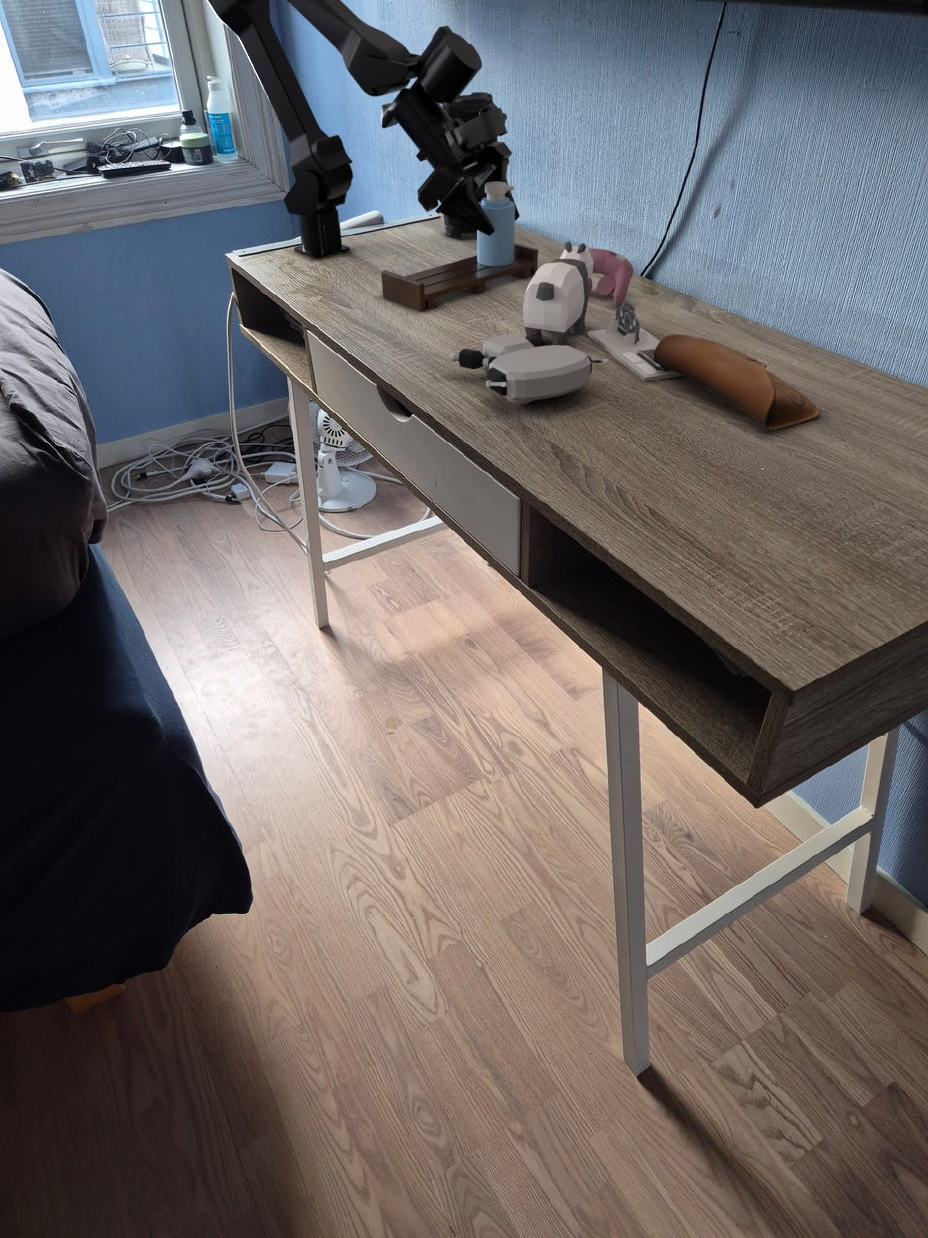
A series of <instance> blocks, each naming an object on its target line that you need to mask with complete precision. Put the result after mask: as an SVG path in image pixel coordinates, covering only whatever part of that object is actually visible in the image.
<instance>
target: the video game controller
mask: <svg viewBox="0 0 928 1238" xmlns="http://www.w3.org/2000/svg"><path fill="white" fill-rule="evenodd" d="M587 249H588V250H589V252H590V255H591V257H592V259H593V273H592V274H601V275H604V276H603V277H601V278H600V279H599V280H598V282H597V284H596V291H597V294H599V295H600V296H601V297H603V298H609V297H612V296H613V302H614V305H615V306H617V307H618V306H621V305H622V304H623V302H624V301H625V299H626V297H627V294H628V291H629V288H630V283H631V279H632V277H633V275H634V266H633V264H632V263H631V262H630V261H629V260H628V259H627V258H626V257H624V255H623V254H621V253H617V252H615V251H613V250H609V249H603V248H593V247H592V248H591V247H590V248H587ZM588 285H589V293H590V292H591V291H592V289H593V280H592V277H590V278H589V279H588Z"/></svg>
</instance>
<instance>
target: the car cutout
mask: <svg viewBox="0 0 928 1238" xmlns="http://www.w3.org/2000/svg"><path fill="white" fill-rule="evenodd" d="M587 336H588V337H589V338H591V340H592V341H594V342H596V343H597V344H598V345H599V346H600V347H601V348H603V349H604V350H605V351H606V352H607V353H609V354H610V355H611V356H613V358H615V360H617V361H619V363H621V364H622V365H623V366H625V368H627V369H628V370H629V371H631V372H632V373H633V374H634V375H635V376H637V377H638V378H639V379H640V380H642V381H643V382H645V383H646V382H652V381H658V380H665V379H670V378H671V379H672V378H677V377H683V376H682V375H681V374H680V373H677V372H674V371H672V370H671V369H668V368H666V367H664V366H662V365H658V364H656V363H655V362H654V360H653V355H654V351H655V349H656V347H657V345H658V344H659V342H660V341H661V340H659V338H657V337H655V336H654V335H652V334H651V333H650V332H648V330H646V329H644V328H643V327H642V326H641V323H640V320H639V318H637V314H636V308H635V306H634V305H633V304H631V303H630V302H629V301H627V300H624V301H623V302H622V303H621V305H619V306H617V308H616V309H615V318H614V320H609V321H608V322H607V323H606V325H605V328H601V329H595V330H588V331H587Z"/></svg>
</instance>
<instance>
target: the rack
mask: <svg viewBox="0 0 928 1238" xmlns="http://www.w3.org/2000/svg"><path fill="white" fill-rule="evenodd" d="M538 264H539V248H535V247H532V246H529V245H525V244H521V243H517V242H514V262H513V263H511V264H509V265H504V266H486V265H482V264H480V263H478V261H477V254H476V255H474V256H470V257H466V258H463V259H460V260H455V261H453V262H449V263H445V264H443V265H439V266H436V267H433V268H428V269H425V270H422V271H418V272H414V273H411V274H408V275H401V274H398V273H395V272H392V271H389V270H386V269H385V270H381V271H380V274H381V275H380V276H381V286H382V287H381V288H382V299H385V300H389V301H391V302H394V303H396V304H398V305H402V306H405V307H408V308H410V309H412V310H415V311H417V312H425V311H426V309H427V310H431V309H434V308H437V298H439V297H443V296H446V295H450V294H453V293H455V292H459V291H462V290H467V291H470V292H473V293H476V294H481V293H484V292H486V289H487V285H486V283H487V282H490V281H493V280H497V279H500V278H503V277H507V276H510V275H512V276H515V277H518V278H522V279H527V278H530V277H532V276H534V275H535V273H536V271H537V270H538V269H539V268H538V266H539V265H538Z"/></svg>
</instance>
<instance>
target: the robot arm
mask: <svg viewBox="0 0 928 1238" xmlns="http://www.w3.org/2000/svg"><path fill="white" fill-rule="evenodd" d="M206 1H207V3H208V5H209V6H210V7H211V9H212V11H213V12H214V14H215V15H216V17H217V19H218V20H219V21H221V22H222V24H224V25H225V26H226V27H227V28H228V29H229V30H230V31H231V32H232V33H233V34H235V35H236V37H237V38H238V40H239V41H240V43H241V45H242V47H243V49H244V51H245V54H246V55H247V58H248V60H249V62H250V64H251V66H252V68H253V70H254V73H255V74H256V76H257V78H258V80H259V81H258V82H259V83H260V85H261V87H262V89H263V91H264V93H265V95H266V97H267V100H268V101H269V103H270V106H271V108H272V109H273V111H274V114H275V116H276V118H277V121H278V122H279V125H280V126H281V129H282V130H283V132H284V135H285V137H286V139H287V142H288V144H289V157H290V158H289V159H290V160H289V161H290V169H291V173H292V175H293V178H294V181H295V182H294V183H293V185H292V186H291V187H290V189H289V190H288V192H287V193H286V195H285V196H284V197H283V203H284V205H285V208H286V210H287V212H288V214H290V215H297V219H298V225H299V233H300V241H301V245H299V246H295V247H293V251H294V252H296V253H299V254H301V255H304V256H307V257H310V258H313V259H316V260H318V259H322V258H327V257H330V256H334V255H338V254H339V255H340V254H342V253H346V252H349V251H351V247H350V246H348V245H346V244H345V245H344V244H343V241H342V232H341V223H340V219H339V218H340V217H339V210H338V209H337V207H339V206H341V205H345V204H346V200H347V194H348V192H349V190H350V188H351V187H352V183H353V179H354V173H353V169H352V165H351V164H352V163H353V160H352V159H351V158H350V156H349V155H348V153H347V152H346V149H345V146H344V142H343V140H342V138H341V137H340V135H339V134H334V135H331V136H328V134H327V133H326V132H324V131H323V130H322V128H321V127H320V125H319V123H318V120H317V119H316V117H315V115H314V113H313V111H312V108H311V106H310V104H309V102H308V100H307V97H306V95H305V93H304V91H303V89H302V86H301V84H300V82H299V80H298V78H297V75H296V73H295V71H294V70H293V67H292V65H291V63H290V61H289V58H288V57H287V54H286V52H285V50H284V48H283V45H282V44H281V41H280V39H279V37H278V35H277V33H276V31H275V29H274V27H273V24H272V22H271V9H270V7H271V5H270V4H271V3H270V0H206ZM286 2H288V4H289V5H291V6H292V7H293V8H294V9H295V10H296V11H297V12H298V13H299V14H300V15H301V16H302V17H303V18H304V19H305V20H306V21H307V22H308V23H309V24H310V25H311V26H312V27H313V28H315V30H317V31H318V32H319V33H320V34H321V36H322V37H324V39H326V40H327V41H328V42H329V43H330V44H331V45H332V46H333V47H334V48H335V49H336V50H337V52H338V53H339V54H340V55H341V57H342V61H343V62H344V63H343V64H344V65H345V68H346V70H347V72H348V73H349V74H350V76H351V77H352V79H353V80H354V81H355V83H356V84H357V85H358V86H359V88H360V90H362V91H363V92H364V93H365V94H366V95H368V96H370V97H374V98H375V97H382V96H386V95H388V94H394V93H397V92H398V94H397V95H396V96H395V98H394V99H393V100H392V102H388V103H385V104H382V105H381V119H380V120H381V122H380V126H381V128H382V129H387V128H391V127H393V126H397V125H399V127H401V129H402V130H403V132H405V134H406V135H407V136H408V138H409V139H410V140H411V142H412V143H413V144H414V145H415V147H416V148H417V150H418V152H417V153H416V154H415V157H416V158H417V159H418V161H419V162H420V163H422V162H424V161H427V163H429V165H430V166H431V167H432V169H433V170H432V172H431V173H430V174H429V176H428V177H427V178H426V179H425V181H424V182H422V184H421V185H420V186H419V187H418V189H417V202H418V204H420V205H421V206H422V208H423V209H424V211H425V212H426V213H428V212H431V211H433V210H435V213H436V214H442V215H443V214H444V215H446V216H449V217H451V218H453V219H455V220H458V221H460V222H462V223H464V224H466V225H468V226H470V227H472V228H474V229H476V230H478V231H480V232H482V233H484V234H486V235H488V236H491V235H492V234H493V233H494V232H495V229H494V227H493V225H492V223H491V221H490V220H489V218H488V216H487V215H486V213H485V212H484V210H483V208H482V207H481V205H480V204H479V202H478V201H477V199H476V197H475V196H474V194H473V186H474V187H476V188H478V189H477V190H476V191H475V193H476V194H477V195H478V196H480V197H481V198H482V199H483V198H485V197H487V193H485V184H486V183H488V182H505V183H507V185H508V186H510V185H509V181H508V178H507V173H508V166H509V165H510V158H511V156H512V154H513V152H512V151H511V149H510V148H509V147H508V145H507V144H506V143H505V141H497V142H493V143H491V144H489V145H486V146H485V147H484V146H483V143H485V142H488V141H490V140H492V139H494V138H496V137H497V138H498V137H502V136H505V135H507V134H508V130H507V127H506V121H507V119H508V115H507V114H506V113H505V112H503V109H502V107H498V106H497V105H496V104H495V102H493V103H492V104H489V105H487V106H486V107H484V108H481V109H480V110H479V116H478V117H476V118H474V119H472V120H470V121H468V122H466V123H464V122H463V121H462V120H461V119H458V118H456V119H453V120H451V118H450V117H449V116H448V114H447V113H446V112H445V111H444V109H443V108H442V104H443V103H444V102H446V103H448V104H453V103H454V102H455V101H456V100H457V98H458V97H459V96H460V95H462V93H463V92H464V91H465V90H466V88H467V87H468V86H469V85H470V84H471V82H472V80H473V79H474V78H475V77H476V76H477V74H478V73H479V72H480V71H481V69H482V68H483V61H482V58H481V56H480V54H479V52H478V51H477V49H476V48H475V46H474V45H473V44H472V43H469V42H468V41H467V40H466V39H465V38H464V37H463V36H460V35H459V34H458V33H456V32H453V30H452V29H451V28H450V26H449V25H441V26H439V27H438V28H437V29H436V31H435V32H434V34H433V35H432V39H431V40H430V42H429V44H428V45H427V46H426V48H425V49H424V50H423V52H422V53H421V55H420V54H417V53H411V52H410V50H409V49H408V48H407V47H406V46H405V45H404V44H403V43H402V42H400V41H398V40H397V39H396V38H394V37H393V36H391V35H389V34H388V33H386V32H385V31H383V30H380V29H379V28H376V27H374V26H372V25H369V24H368V23H366V22H365V21H364V20H362V19H361V18H360V17H358V16H357V15H356V14H355V12H353V10H351V9H350V8H349V7H348V6H347V5H346V4H345V3H344V2H343V1H342V0H286ZM413 79H415V81H414V82H413V83H412V85H411V86H410V87H409V88H408V87H407V86H408V85H409V84H410V82H411V80H413ZM476 156H477V157H476ZM505 197H508V198H509V199H510V201H512V202H514V203H515V222H517V220H518V219H519V218H520V217H521V215H520V212H519V209H518V207H517V204H516V201H515V199H514V196H513V193H512V191H509V190H507V192H506V193H505ZM439 203H440V204H439Z"/></svg>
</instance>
